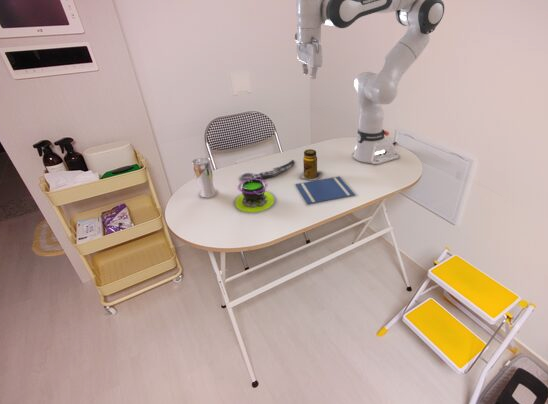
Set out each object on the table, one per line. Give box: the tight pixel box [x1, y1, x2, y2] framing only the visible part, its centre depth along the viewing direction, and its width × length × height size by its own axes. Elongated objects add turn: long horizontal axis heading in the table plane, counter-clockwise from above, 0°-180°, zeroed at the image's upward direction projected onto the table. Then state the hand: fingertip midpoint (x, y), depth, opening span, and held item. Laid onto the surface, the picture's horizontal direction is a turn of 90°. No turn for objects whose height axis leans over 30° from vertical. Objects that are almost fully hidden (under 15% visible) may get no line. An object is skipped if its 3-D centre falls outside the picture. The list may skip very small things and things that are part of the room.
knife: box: [240, 159, 295, 181], centre depth 139 cm, size 28×2×10 cm
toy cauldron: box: [235, 173, 275, 213], centre depth 116 cm, size 15×15×11 cm
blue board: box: [295, 176, 356, 205], centre depth 126 cm, size 20×16×1 cm
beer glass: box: [191, 156, 217, 199], centre depth 119 cm, size 7×7×15 cm
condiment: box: [300, 148, 323, 181], centre depth 133 cm, size 7×8×12 cm
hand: (309, 76), depth 120 cm, fingers open, 8 cm apart
